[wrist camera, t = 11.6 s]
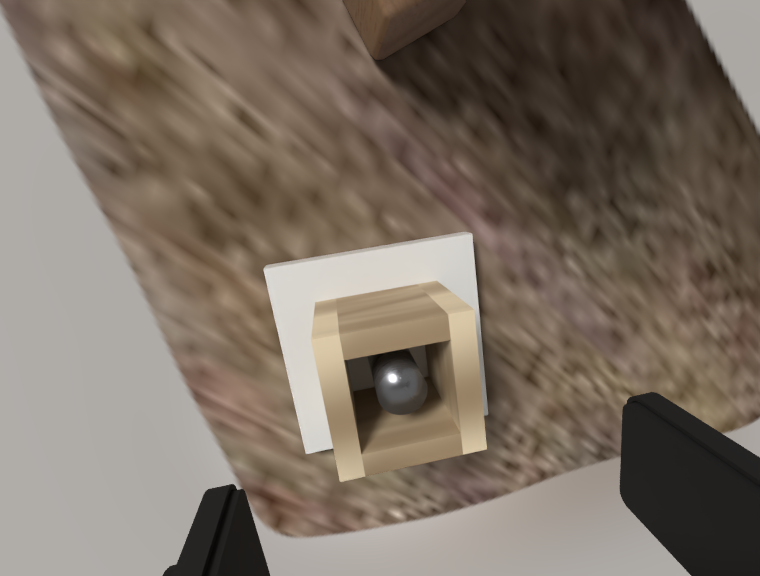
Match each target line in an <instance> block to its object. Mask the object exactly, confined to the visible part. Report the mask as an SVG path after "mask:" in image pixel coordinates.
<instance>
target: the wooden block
mask: <svg viewBox="0 0 760 576" xmlns="http://www.w3.org/2000/svg"><path fill="white" fill-rule="evenodd" d="M466 1H467V0H343V2H344V4H345V6H346V8H347V10H348V12H349V13H350V15H351V17H352V19H353V21H354V23H355V25H356V27H357V29H358V31H359V33H360V35H361V37H362V39H363V41H364V43H365V45H366V47H367V49H368V51H369V53H370V55H371V56H372V57H373V58H374V59H375V60H381V59H384V58H386V57H388V56H389V55H391V54H393V53H394V52H396V51H398V50H400V49H401V48H403V47H405V46H406V45H408V44H410V43H411V42H413V41H415V40H416V39H418V38H420V37H421V36H423V35H425V34H426V33H428V32H430V31H431V30H433V29H435V28H437V27H438V26H440V25H442V24H443V23H445V22H447V21H448V20H450V19H452V18H453V17H455V16H456V15H457V13H458V12H459V11H460V9H461V8H462V7H463V5H464V4H465V2H466Z"/></svg>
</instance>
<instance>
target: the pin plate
mask: <svg viewBox="0 0 760 576" xmlns="http://www.w3.org/2000/svg"><path fill="white" fill-rule="evenodd" d="M264 274H265V278H266V282H267V287H268V291H269V295H270V300H271V304H272V308H273V313H274V317H275V321H276V326H277V330H278V335H279V339H280V343H281V348H282V352H283V356H284V361H285V365H286V369H287V374H288V378H289V382H290V387H291V391H292V395H293V400H294V404H295V408H296V413H297V417H298V421H299V426H300V430H301V434H302V439H303V443H304V447H305V452H306V454H309V453H314V452H318V451H323V450H328V449H332V448H333V445H332V440H331V435H330V430H329V425H328V420H327V415H326V411H325V406H324V401H323V396H322V391H321V386H320V381H319V376H318V372H317V367H316V362H315V357H314V352H313V347H312V342H311V335H312V326H313V317H314V308H315V302H319V301H324V300H330V299H336V298H341V297H347V296H353V295H358V294H364V293H370V292H375V291H381V290H387V289H392V288H398V287H403V286H409V285H415V284H420V283H426V282H432V281H438V282H439V283H441V284H442V285H443V286H445V287H446V288H447V289H448V290H450V291H451V292H452V293H454V294H455V295H456V296H458V297H459V298H460V299H461V300H463V301H464V302H465V303H467V304H468V305H469V306H471V307H472V308H473V309H474V310H475V321H476V333H477V344H478V355H479V366H480V377H481V389H482V400H483V411H484V416H485V415H488V406H487V394H486V383H485V372H484V361H483V350H482V338H481V327H480V316H479V305H478V293H477V282H476V271H475V260H474V248H473V237H472V233H468V232H460V233H454V234H448V235H442V236H436V237H430V238H424V239H419V240H413V241H407V242H401V243H395V244H389V245H383V246H377V247H371V248H365V249H359V250H353V251H347V252H342V253H336V254H330V255H324V256H318V257H312V258H306V259H300V260H294V261H288V262H282V263H276V264H270V265H266V266H265V268H264ZM347 362H348V367H349V373H350V378H351V384H352V389H353V391H358V390H363V389H368V388H373V387H375V389H376V393H377V397H378V401H379V403H380V405H381V406H382V407H383V409H385V410H386V411H387V412H389V413H391V414H395V415H406V414H410V413H412V412H414V411H416V410H417V409H418V408H420V407H421V405H422V404H423V403H424V401H425V399H426V397H427V392H428V387H427V383H426V381H425V379H424V377H428V376H429V374H428V366H427V359H426V351H425V345H421V346H416V347H411V348H406V349H401V350H395V351H390V352H385V353H380V354H375V355H370V356H364V357H359V358H354V359H349V360H347Z"/></svg>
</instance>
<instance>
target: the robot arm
mask: <svg viewBox="0 0 760 576" xmlns="http://www.w3.org/2000/svg"><path fill="white" fill-rule="evenodd" d="M620 494H621V497H622V499H623V501H624V503H625V504H626V506H627V507H628V508H629V509H630V510H631V512H632V513H633V514H634V515H635V516H636V517H637V518H638V519H639V520H640V521H641V522H642V523H643V524H644V525H645V526H646V528H647V529H648V530H649V531H650V532H651V533H652V534H653V535H654V536H655V537H656V538H657V539H658V540H659V542H660V543H661V544H662V545H663V546H664V547H665V548H666V549H667V550H668V551H669V552H670V553H671V554H672V555H673V557H674V558H675V559H676V560H677V561H678V562H679V563H680V564H681V565H682V566H683V567H684V568H685V569H686V570H687V572H688V573H689V574H690V575H691V576H760V458H759V457H758V456H756V455H755V454H753V453H752V452H750V451H748V450H747V449H745V448H744V447H742V446H741V445H739V444H737V443H736V442H734V441H733V440H731V439H729V438H728V437H726V436H725V435H723V434H722V433H720V432H718V431H717V430H715V429H714V428H712V427H710V426H709V425H707V424H706V423H704V422H702V421H701V420H699V419H698V418H696V417H695V416H693V415H691V414H690V413H688V412H687V411H685V410H683V409H682V408H680V407H679V406H677V405H676V404H674V403H672V402H671V401H669V400H668V399H666V398H664V397H663V396H661V395H660V394H657V393H654V392H651V393H646V394H642V395H637V396H632V397H630V398H629V399H628V400H627V404H626V405H624V407H623V414H622V442H621V471H620ZM163 576H270V573H269V570H268V566H267V563H266V560H265V556H264V553H263V550H262V547H261V543H260V540H259V536H258V533H257V530H256V526H255V523H254V520H253V517H252V513H251V510H250V507H249V503H248V500H247V497H246V493H245V491H244V490H243V489H240V490H237V489H236V486H235V485H234V484H230V485H226V486H222V487H217V488H212V489H208V490H207V491H206V492H205V494H204V495H203V498H202V501H201V503H200V506H199V508H198V511H197V513H196V516H195V519H194V521H193V524H192V526H191V529H190V531H189V534H188V537H187V539H186V542H185V544H184V547H183V550H182V552H181V555H180V557H179V560H178V562H177V565H173V566H170V567H169V568H168V569H167V570H166V571H165V572H164V574H163Z"/></svg>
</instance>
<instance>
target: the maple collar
mask: <svg viewBox="0 0 760 576" xmlns="http://www.w3.org/2000/svg"><path fill="white" fill-rule="evenodd" d="M311 342H312V347H313V352H314V357H315V362H316V367H317V372H318V376H319V381H320V386H321V391H322V396H323V401H324V406H325V411H326V415H327V420H328V425H329V430H330V435H331V440H332V445H333V450H334V454H335V459H336V464H337V469H338V474H339V479H340V482H343V481H347V480H352V479H356V478H361V477H365V476H370V475H374V474H379V473H383V472H388V471H392V470H397V469H401V468H406V467H410V466H414V465H419V464H423V463H428V462H432V461H437V460H441V459H446V458H450V457H455V456H459V455H464V454H468V453H473V452H477V451H482V450H486V449H487V445H486V433H485V422H484V411H483V400H482V389H481V377H480V366H479V355H478V344H477V333H476V321H475V310H474V309H473V308H472V307H471V306H469V305H468V304H467V303H465V302H464V301H463V300H461V299H460V298H459V297H458V296H456V295H455V294H454V293H452V292H451V291H450V290H448V289H447V288H446V287H445V286H443V285H442V284H441V283H439V282H438V281H432V282H426V283H420V284H415V285H409V286H403V287H398V288H392V289H387V290H381V291H375V292H370V293H364V294H358V295H353V296H347V297H341V298H336V299H330V300H324V301H319V302H315V308H314V317H313V326H312V335H311ZM421 345H425V351H426V359H427V366H428V374H429V376H428V377H424V379H425V381H426V383H427V387H428V392H427V397H426V399H425V401H424V403H423V404H422V405H421V407H420V408H418V409H417V410H416V411H414V412H412V413H410V414H406V415H395V414H391V413H389V412H387V411H386V410H385V409H383V407H382V406H381V405H380V403H379V401H378V397H377V393H376V389H375V387H373V388H368V389H363V390H358V391H353V389H352V384H351V378H350V373H349V367H348V362H347V360H349V359H354V358H359V357H364V356H370V355H375V354H380V353H385V352H390V351H395V350H401V349H406V348H411V347H416V346H421Z"/></svg>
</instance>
